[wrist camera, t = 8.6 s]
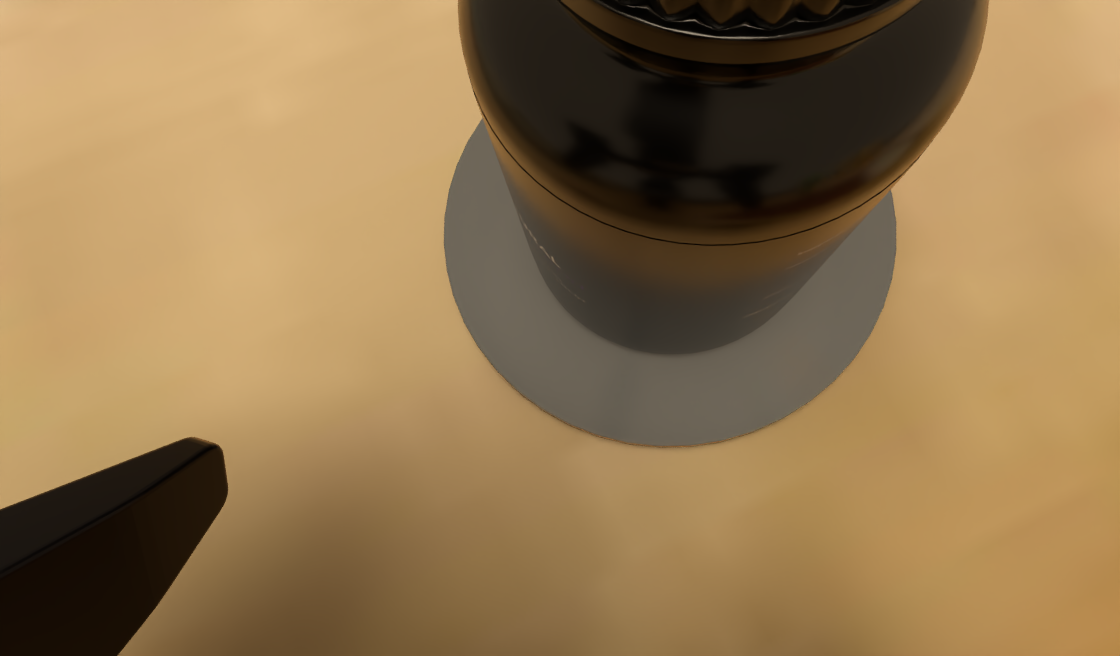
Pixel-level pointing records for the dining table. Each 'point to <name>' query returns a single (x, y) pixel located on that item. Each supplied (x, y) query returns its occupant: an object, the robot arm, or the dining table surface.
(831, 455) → the dining table surface
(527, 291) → the coaster
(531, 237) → the supplement bottle
